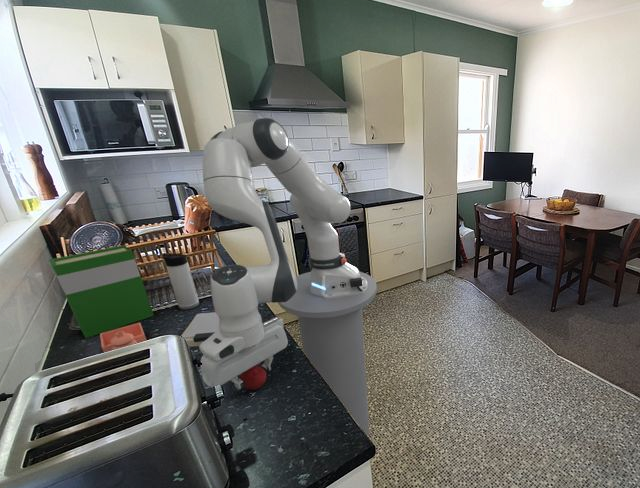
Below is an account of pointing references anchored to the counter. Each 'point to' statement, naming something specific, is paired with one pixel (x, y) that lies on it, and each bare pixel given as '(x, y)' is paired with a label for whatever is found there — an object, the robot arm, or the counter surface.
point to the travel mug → (181, 281)
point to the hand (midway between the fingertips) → (253, 378)
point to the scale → (201, 328)
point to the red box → (122, 337)
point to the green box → (103, 289)
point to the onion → (254, 377)
